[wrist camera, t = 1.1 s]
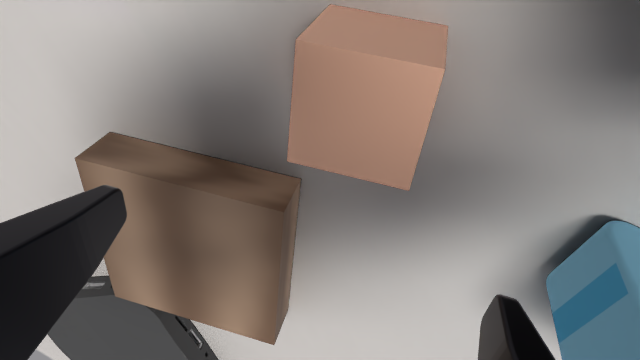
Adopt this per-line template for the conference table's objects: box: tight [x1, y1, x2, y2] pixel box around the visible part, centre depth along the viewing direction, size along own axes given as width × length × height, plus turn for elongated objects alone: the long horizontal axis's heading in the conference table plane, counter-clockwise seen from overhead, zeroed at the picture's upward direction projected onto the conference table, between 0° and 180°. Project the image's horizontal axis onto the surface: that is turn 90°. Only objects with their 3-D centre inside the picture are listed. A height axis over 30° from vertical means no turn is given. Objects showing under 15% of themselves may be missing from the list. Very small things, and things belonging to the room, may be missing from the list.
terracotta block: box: [287, 4, 448, 191], centre depth 17 cm, size 5×5×5 cm
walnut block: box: [75, 132, 301, 345], centre depth 27 cm, size 12×12×3 cm
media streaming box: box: [48, 276, 218, 360], centre depth 38 cm, size 15×15×3 cm
